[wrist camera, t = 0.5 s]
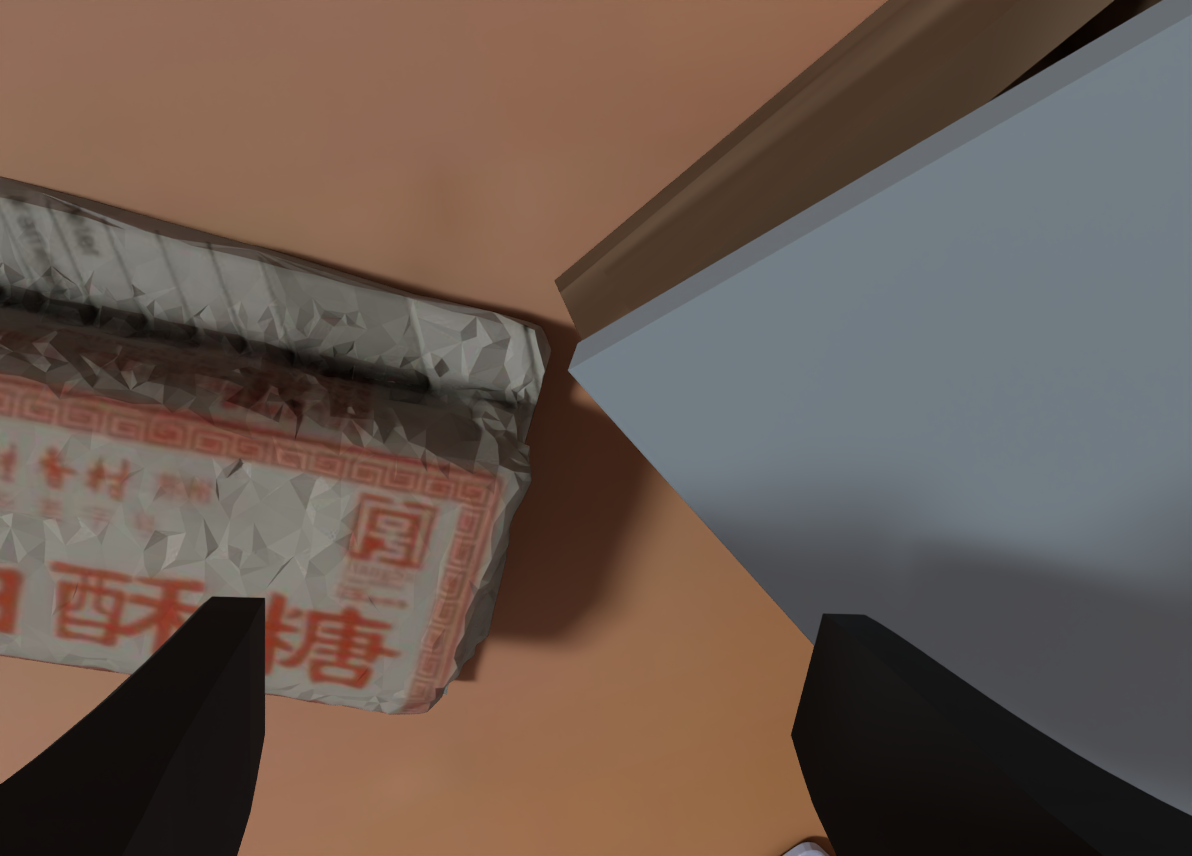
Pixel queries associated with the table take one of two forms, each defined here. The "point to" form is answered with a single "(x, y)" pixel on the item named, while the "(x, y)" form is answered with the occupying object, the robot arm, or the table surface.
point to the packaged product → (249, 454)
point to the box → (831, 135)
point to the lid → (967, 400)
